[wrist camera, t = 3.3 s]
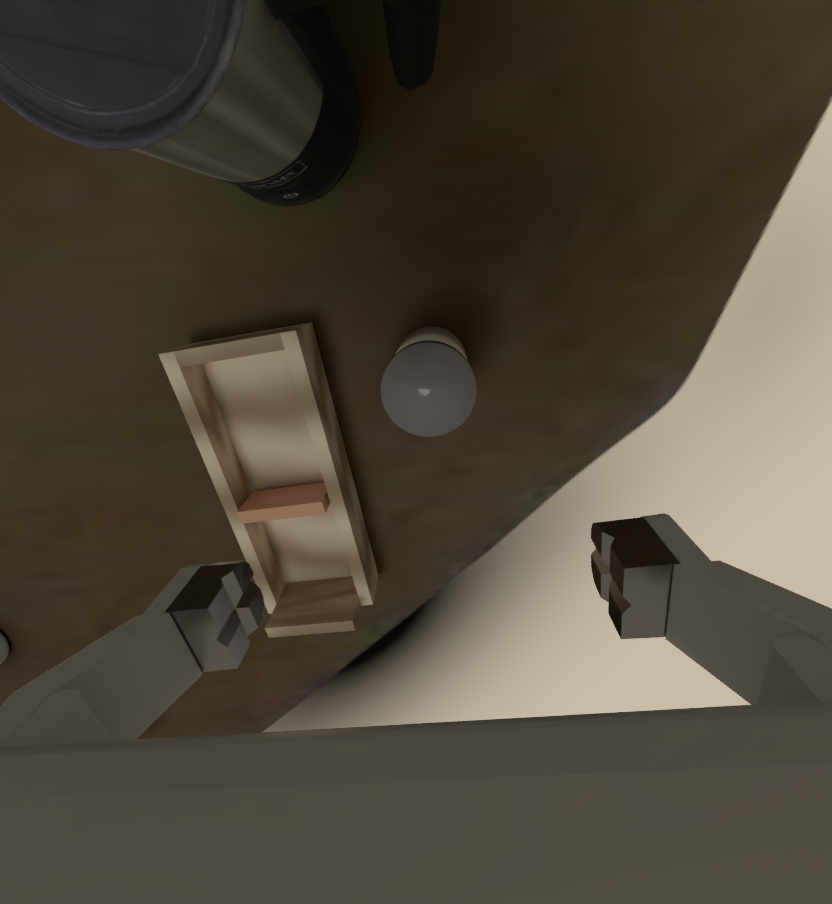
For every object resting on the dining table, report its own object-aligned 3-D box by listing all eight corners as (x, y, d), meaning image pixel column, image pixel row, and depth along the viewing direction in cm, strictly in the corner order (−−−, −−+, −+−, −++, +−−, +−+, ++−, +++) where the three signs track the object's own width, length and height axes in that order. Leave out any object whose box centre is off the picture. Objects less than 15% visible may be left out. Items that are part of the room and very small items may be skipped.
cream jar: (386, 331, 28) (371, 352, 22) (463, 318, 27) (470, 336, 21) (400, 403, 30) (390, 442, 24) (472, 393, 30) (481, 429, 23)
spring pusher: (253, 491, 32) (236, 512, 30) (331, 481, 32) (321, 501, 29) (257, 501, 33) (241, 523, 30) (335, 492, 32) (325, 513, 29)
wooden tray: (189, 343, 29) (131, 363, 24) (311, 322, 28) (281, 337, 23) (282, 584, 38) (256, 638, 33) (378, 574, 37) (368, 629, 32)
